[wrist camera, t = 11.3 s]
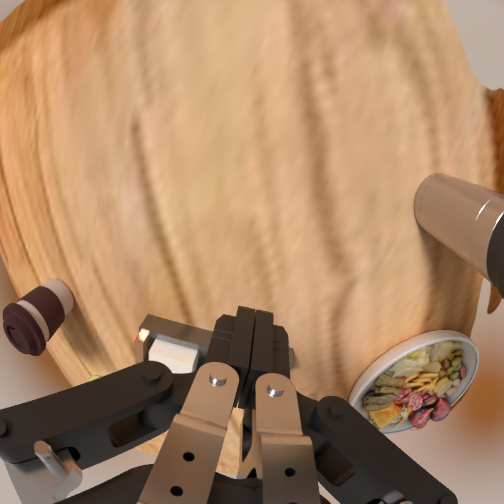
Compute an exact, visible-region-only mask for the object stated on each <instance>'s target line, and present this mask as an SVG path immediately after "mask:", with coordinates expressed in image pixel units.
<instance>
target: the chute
mask: <svg viewBox="0 0 504 504" xmlns="http://www.w3.org/2000/svg"><path fill="white" fill-rule="evenodd" d="M212 334H213V332H212V331H208V330H204V329H200V328H196V327H192V326H189V325H185V324H181V323H177V322H174V321H170V320H167V319H163V318H160V317H156V316H153V315H150V314H148V315H147V316H146V318H145V319H144V321H143V323H142V324H141V326H140V327H139V335H138V336H137V338H136V340H135V358H136V364H137V363H140V362H143V361H149V351H150V349H151V347H152V345H153V343H154V341H155V339H159V340H162V341H166V342H169V343H173V344H176V345H180V346H184V347H187V348H191V349H195V350H199V356H198V363H197V367H196V370H198V369H199V368H200V367H201V366H202V365H203V364H204V361H205V358H206V355H207V351H208V348H209V344H210V341H211V338H212ZM289 364H290V370H292V368H293V365H294V361H293V348H289ZM196 370H195V371H196Z"/></svg>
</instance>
